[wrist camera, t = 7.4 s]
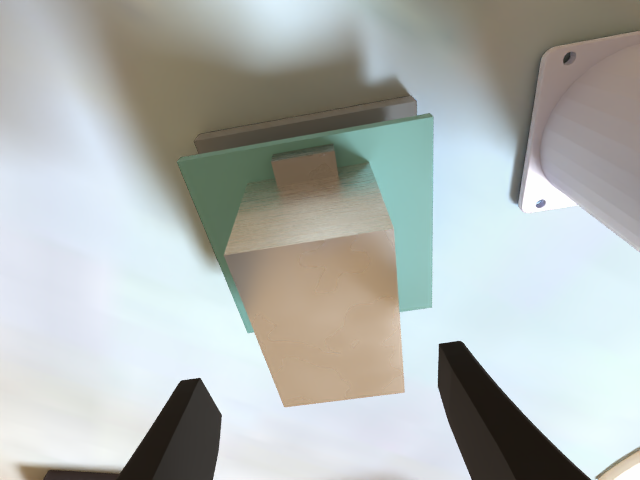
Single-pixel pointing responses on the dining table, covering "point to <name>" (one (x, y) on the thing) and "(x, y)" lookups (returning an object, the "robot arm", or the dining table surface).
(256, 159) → the stand
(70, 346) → the dining table surface
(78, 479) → the calculator
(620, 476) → the lazy susan
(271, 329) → the block
